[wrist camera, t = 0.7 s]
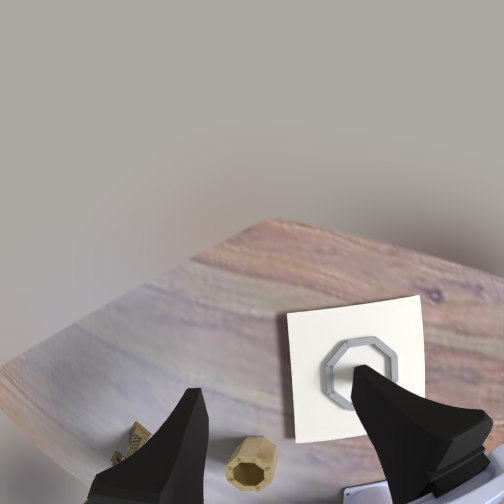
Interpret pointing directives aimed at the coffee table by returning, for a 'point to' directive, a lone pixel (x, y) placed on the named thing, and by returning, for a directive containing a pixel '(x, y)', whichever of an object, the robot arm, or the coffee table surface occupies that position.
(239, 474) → the collar
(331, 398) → the post board
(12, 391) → the coffee table surface
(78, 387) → the coffee table surface
